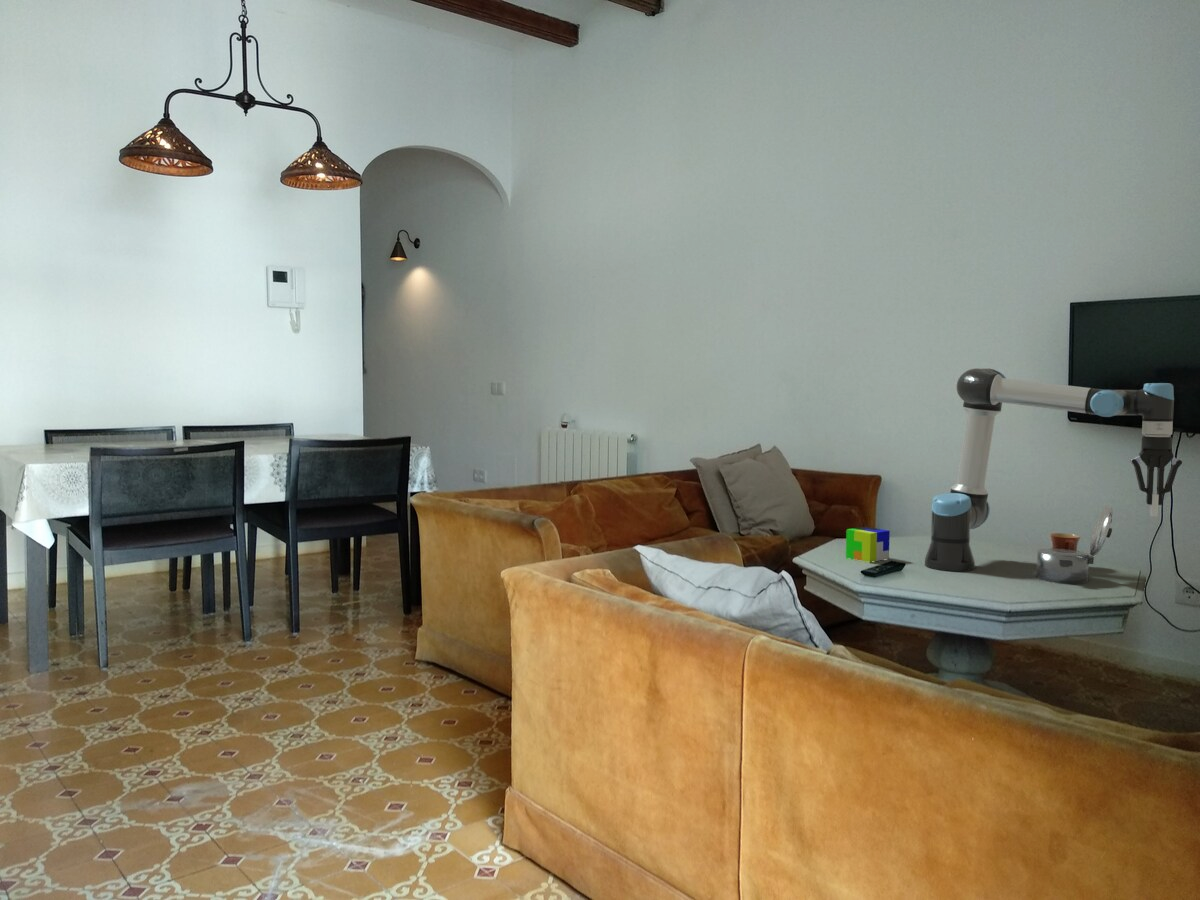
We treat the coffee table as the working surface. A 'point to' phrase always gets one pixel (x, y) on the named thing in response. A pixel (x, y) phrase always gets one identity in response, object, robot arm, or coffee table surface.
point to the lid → (1101, 530)
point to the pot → (1063, 566)
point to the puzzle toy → (867, 544)
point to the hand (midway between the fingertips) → (1153, 515)
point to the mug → (1064, 541)
